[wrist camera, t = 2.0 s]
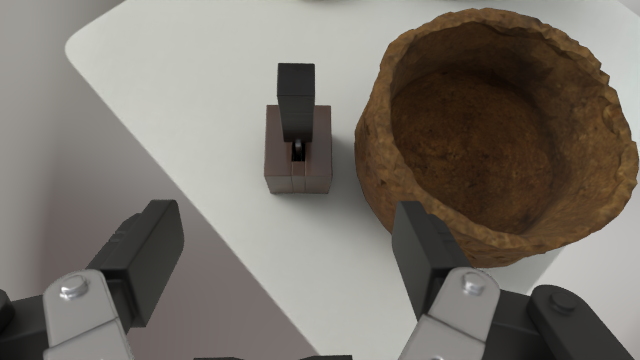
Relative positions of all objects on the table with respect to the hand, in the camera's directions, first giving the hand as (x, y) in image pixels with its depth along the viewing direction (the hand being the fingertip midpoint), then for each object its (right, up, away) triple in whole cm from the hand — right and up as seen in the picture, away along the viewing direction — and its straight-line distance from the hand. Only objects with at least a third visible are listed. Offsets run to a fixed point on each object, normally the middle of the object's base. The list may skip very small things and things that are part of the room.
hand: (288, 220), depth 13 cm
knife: (-1, +3, +24) cm, 24 cm away
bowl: (+13, +1, +24) cm, 28 cm away
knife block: (-1, +3, +24) cm, 24 cm away
